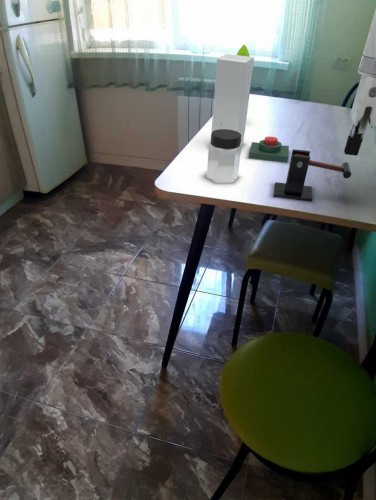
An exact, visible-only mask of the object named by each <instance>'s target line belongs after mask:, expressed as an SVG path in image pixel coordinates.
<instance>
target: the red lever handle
mask: <svg viewBox="0 0 376 500" xmlns="http://www.w3.org/2000/svg"><path fill="white" fill-rule="evenodd" d="M296 155H301V156H306V155H302V154H297V153H296ZM309 166H311V167H316V168H320V169H325V170H331V171H334V172H339V173H342V177H343V178H344V179H350V178H351V176H352V171H351V166H350V163H349V162H347V161H345V162H343V163H342V164H341V165H336V164H331V163H326V162H321V161H318V160H317V161H316V160H311V159H310V162H309Z"/></svg>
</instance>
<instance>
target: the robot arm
mask: <svg viewBox="0 0 376 500" xmlns="http://www.w3.org/2000/svg"><path fill="white" fill-rule="evenodd" d="M357 69H358V70H357V74H358V75H361V76H360V80H359V83H358V86H357V90H356V93H355V96H354V100H353V103H352V108H351V110H350V111H351V112H350V119H351V122H352V123H351V127H350V130H349V134H348V136H347V139H346V142H345V146H344V149H343V152H344V155H347V156H354V157H355V156H358V155H359V152H360V149H361V145H362V143H363V140H364V136H365V133H366V131H367V128H368V125H369V126H370V128H371V129H374V128H375V127H376V9H375V10H374V13H373V17H372V20H371V24H370V28H369V31H368V35H367V38H366V42H365V45H364V48H363V53H362V56H361V59H360V63H359V66H358V68H357Z"/></svg>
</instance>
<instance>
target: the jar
mask: <svg viewBox="0 0 376 500" xmlns="http://www.w3.org/2000/svg"><path fill="white" fill-rule="evenodd" d="M211 132H212V131H211ZM242 146H243V145H241V134H240V133H239V132H237V131H234V130H228V129H219V130H215V131H213V132H212V133H210V143H209V144H208V153H207V165H206V166H207V167H206V178H208V179H209V180H210V181H212V182H213V183H215V184H232V183H234V182H235V181H236V180H237V179H238V178H239V169H240V161H241V153H242Z"/></svg>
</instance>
